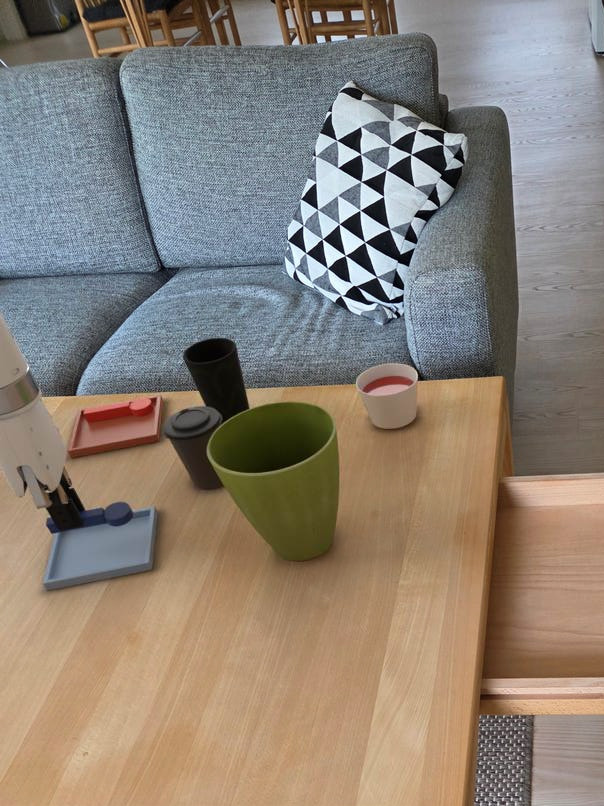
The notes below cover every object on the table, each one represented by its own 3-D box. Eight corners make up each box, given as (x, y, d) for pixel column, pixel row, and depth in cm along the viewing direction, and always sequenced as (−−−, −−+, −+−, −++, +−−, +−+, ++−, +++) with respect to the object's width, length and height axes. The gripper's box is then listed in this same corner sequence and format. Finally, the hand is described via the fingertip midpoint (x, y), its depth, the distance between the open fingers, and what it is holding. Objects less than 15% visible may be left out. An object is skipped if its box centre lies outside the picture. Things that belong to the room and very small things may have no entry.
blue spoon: (50, 539, 109) (44, 530, 108) (53, 521, 111) (47, 512, 110) (132, 523, 110) (128, 514, 109) (134, 506, 112) (129, 496, 111)
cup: (269, 416, 133) (246, 343, 125) (234, 442, 129) (209, 368, 121) (233, 405, 137) (209, 333, 128) (198, 430, 133) (171, 357, 124)
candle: (363, 406, 133) (355, 368, 128) (421, 397, 133) (415, 359, 129) (364, 438, 127) (356, 399, 122) (425, 429, 127) (419, 390, 122)
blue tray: (46, 590, 109) (42, 583, 108) (60, 532, 117) (56, 525, 117) (152, 569, 110) (148, 562, 109) (158, 513, 118) (154, 506, 118)
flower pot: (329, 592, 104) (296, 482, 92) (223, 572, 108) (180, 464, 97) (381, 516, 113) (357, 408, 102) (282, 500, 118) (249, 395, 106)
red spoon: (86, 426, 136) (82, 417, 135) (89, 415, 138) (85, 406, 137) (152, 414, 137) (149, 405, 135) (154, 403, 139) (150, 394, 138)
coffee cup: (207, 457, 127) (184, 396, 120) (252, 467, 124) (231, 405, 117) (172, 489, 122) (146, 427, 115) (218, 500, 119) (194, 437, 112)
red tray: (70, 457, 130) (67, 451, 130) (80, 416, 139) (77, 409, 138) (159, 441, 131) (156, 434, 131) (163, 401, 140) (160, 394, 139)
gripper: (-19, 364, 102) (52, 492, 115) (-49, 434, 91) (33, 567, 104) (46, 353, 102) (109, 481, 116) (23, 420, 91) (96, 554, 105)
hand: (72, 521), depth 110 cm, fingers closed on blue spoon, 1 cm apart
